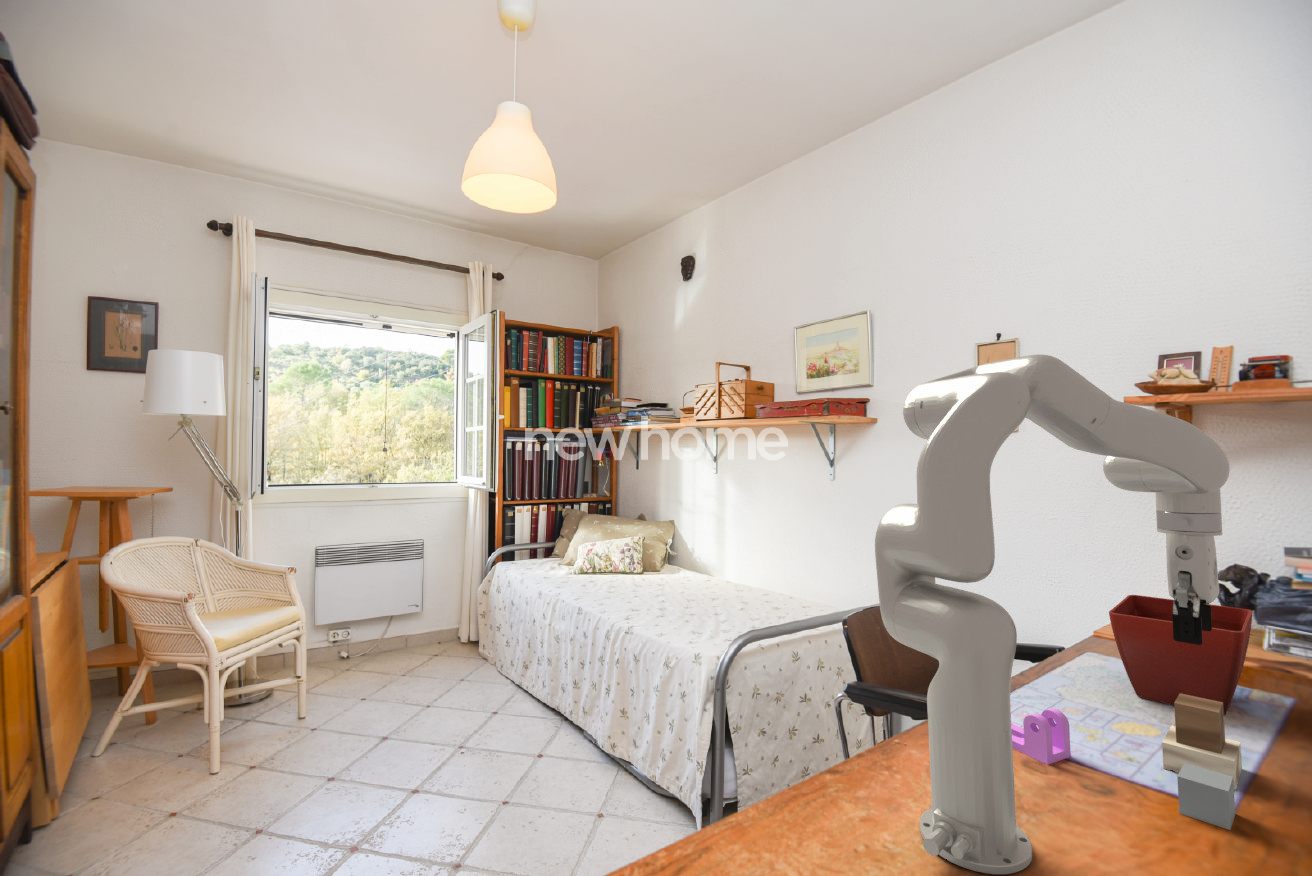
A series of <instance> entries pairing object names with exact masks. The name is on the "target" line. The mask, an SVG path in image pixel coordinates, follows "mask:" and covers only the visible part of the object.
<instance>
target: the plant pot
mask: <svg viewBox="0 0 1312 876" xmlns="http://www.w3.org/2000/svg"><path fill="white" fill-rule="evenodd" d="M1173 605H1174V599H1173V598H1172V599H1170V598H1163V597H1155V596H1146V595H1138V594H1129V595H1127V596H1126V597H1124V598H1123V600H1121V601H1120V602H1119V603H1118V604H1117V605H1115V606H1114V607H1113V608H1112V609H1109V611H1108V616H1109V620H1110V625H1111V628H1112V633H1113V637H1114V640H1115V644H1116V648H1117V650H1118V654H1119V656H1120V659H1121V662H1122V664H1123V666H1124V670H1125V673H1126V675H1127V678H1128V680H1129V681H1130V684H1131V687H1132V689H1133V690H1134V692H1135V694H1136V696H1137V697H1138V698H1142V699H1146V700H1150V701H1154V702H1159V703H1162V704H1163V703H1164V704H1168V705H1172V706H1174V702H1175V701H1176V699H1177V697H1178V695H1179V694H1180V693H1181V694H1186V695H1190V696H1195V697H1200V698H1204V699H1209V700H1214V701H1219V702H1223V710H1224V716H1226V715H1227V714H1228V712H1229V708H1230V706H1231V704H1232V700H1233V697H1234V695H1235V692H1236V689H1237V688H1238V684H1239V681H1240V678H1241V675H1242V671H1243V668H1244V665H1245V659H1246V656H1247V652H1248V647H1249V643H1250V638H1251V637H1250V636H1251V631H1252V623H1253V612H1254V611H1253V610H1251V609H1247V608H1240V607H1233V606H1225V605H1217V604H1211V603H1209V605H1211V618H1212V630H1211V631H1203V630H1202V638H1203V643H1202V644H1201V645H1196V644H1190V643H1184V642H1178V641H1175V640H1174V639H1173V618H1172V613H1173ZM1205 605H1207V604H1205Z"/></svg>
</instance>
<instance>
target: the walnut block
mask: <svg viewBox="0 0 1312 876" xmlns="http://www.w3.org/2000/svg"><path fill="white" fill-rule="evenodd" d="M1173 706H1174V722H1175V723H1174V724H1175V725H1174V726H1176V742H1177V743H1181V744H1184V745H1188V746H1192V747H1196V748H1200V749H1204V750H1208V751H1211V752H1215V753H1219V754H1221V753H1222V750H1223V748H1224V745H1225V738H1226V731H1225V730H1226V729H1225V715H1224V710H1223V702H1219V701H1214V700H1209V699H1204V698H1200V697H1195V696H1190V695H1186V694H1181V693H1180V694H1179V695H1178V697H1177V699H1176V701H1175V702H1174V705H1173Z"/></svg>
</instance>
